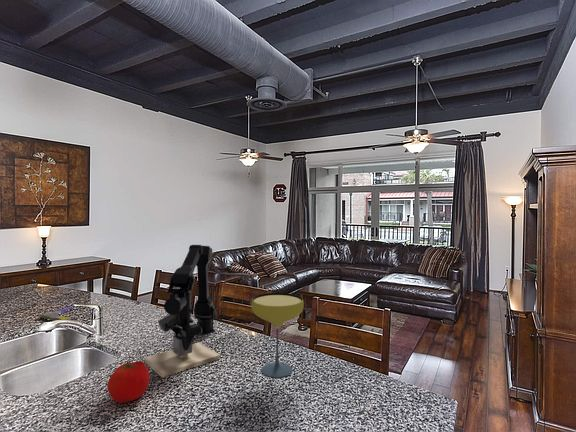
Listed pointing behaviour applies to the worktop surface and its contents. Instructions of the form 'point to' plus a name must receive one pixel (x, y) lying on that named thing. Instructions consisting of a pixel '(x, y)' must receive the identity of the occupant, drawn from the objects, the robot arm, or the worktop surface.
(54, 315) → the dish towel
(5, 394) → the worktop surface
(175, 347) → the socket
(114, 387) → the tomato
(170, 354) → the board
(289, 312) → the cocktail glass
